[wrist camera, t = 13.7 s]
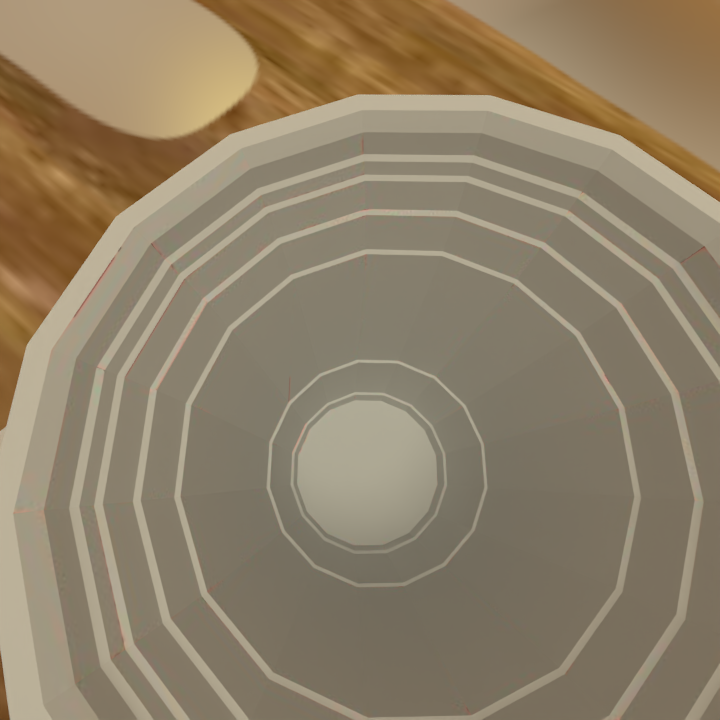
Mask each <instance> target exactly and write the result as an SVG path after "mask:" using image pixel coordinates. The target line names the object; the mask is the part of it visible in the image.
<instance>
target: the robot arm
mask: <svg viewBox="0 0 720 720" xmlns="http://www.w3.org/2000/svg"><path fill="white" fill-rule="evenodd" d="M5 430H6V427H5V428H4V429H3V430H1V431H0V450H1V446H2V442H3V438H4V434H5Z"/></svg>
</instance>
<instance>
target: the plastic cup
mask: <svg viewBox="0 0 720 720" xmlns="http://www.w3.org/2000/svg"><path fill="white" fill-rule="evenodd" d="M0 650H1V657H2V665H3V672H4V679H5V687H6V694H7V701H8V708H9V716H10V720H720V202H718V201H717V200H715V199H714V198H713V197H711V196H710V195H708V194H707V193H705V192H704V191H702V190H701V189H699V188H698V187H696V186H695V185H693V184H692V183H690V182H689V181H687V180H686V179H684V178H683V177H681V176H680V175H678V174H677V173H675V172H674V171H672V170H671V169H669V168H668V167H666V166H665V165H663V164H662V163H660V162H659V161H658V160H656V159H655V158H653V157H652V156H650V155H649V154H647V153H646V152H644V151H643V150H641V149H640V148H638V147H637V146H635V145H634V144H632V143H631V142H629V141H628V140H626V139H625V138H623V137H622V136H620V135H617V134H614V133H610V132H607V131H604V130H601V129H597V128H594V127H591V126H588V125H584V124H581V123H578V122H575V121H571V120H568V119H565V118H562V117H559V116H555V115H552V114H549V113H546V112H542V111H539V110H536V109H533V108H529V107H526V106H523V105H520V104H516V103H513V102H510V101H507V100H503V99H500V98H497V97H494V96H490V95H355V96H352V97H348V98H345V99H342V100H339V101H336V102H332V103H329V104H326V105H323V106H320V107H316V108H313V109H310V110H307V111H304V112H300V113H297V114H294V115H291V116H288V117H284V118H281V119H278V120H275V121H272V122H268V123H265V124H262V125H259V126H255V127H252V128H249V129H246V130H243V131H239V132H236V133H233V134H230V135H229V136H227V137H226V138H225V139H223V140H222V141H220V142H219V143H218V144H216V145H215V146H213V147H212V148H211V149H209V150H208V151H207V152H205V153H204V154H202V155H201V156H200V157H198V158H197V159H195V160H194V161H193V162H191V163H190V164H189V165H187V166H186V167H184V168H183V169H182V170H180V171H179V172H177V173H176V174H175V175H173V176H172V177H170V178H169V179H168V180H166V181H165V182H164V183H162V184H161V185H159V186H158V187H157V188H155V189H154V190H152V191H151V192H150V193H148V194H147V195H146V196H144V197H143V198H141V199H140V200H139V201H137V202H136V203H134V204H133V205H132V206H130V207H129V208H127V209H126V210H125V211H123V212H122V213H121V214H119V215H118V216H116V218H115V219H114V220H113V222H112V223H111V225H110V226H109V228H108V229H107V231H106V232H105V233H104V235H103V236H102V238H101V239H100V241H99V242H98V243H97V245H96V246H95V248H94V249H93V251H92V252H91V254H90V255H89V256H88V258H87V259H86V261H85V262H84V264H83V265H82V267H81V268H80V269H79V271H78V272H77V274H76V275H75V277H74V278H73V280H72V281H71V282H70V284H69V285H68V287H67V288H66V290H65V291H64V292H63V294H62V295H61V297H60V298H59V300H58V301H57V303H56V304H55V305H54V307H53V308H52V310H51V311H50V313H49V314H48V316H47V317H46V318H45V320H44V321H43V323H42V324H41V326H40V327H39V329H38V330H37V331H36V333H35V334H34V336H33V337H32V339H31V340H30V341H29V343H28V344H27V347H26V351H25V355H24V359H23V363H22V367H21V371H20V374H19V378H18V382H17V386H16V390H15V394H14V398H13V402H12V406H11V410H10V414H9V418H8V422H7V426H6V430H5V434H4V438H3V442H2V446H1V450H0Z"/></svg>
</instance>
